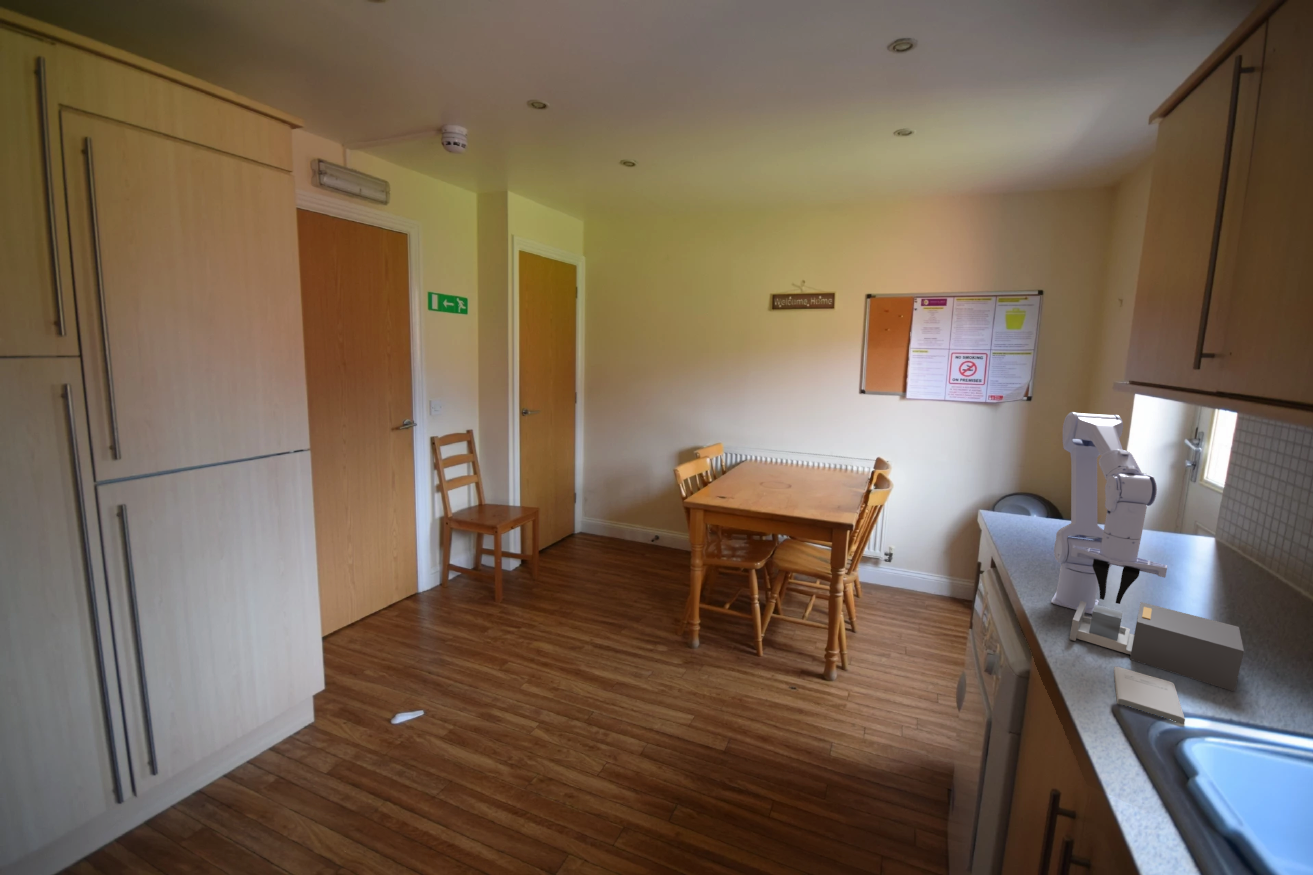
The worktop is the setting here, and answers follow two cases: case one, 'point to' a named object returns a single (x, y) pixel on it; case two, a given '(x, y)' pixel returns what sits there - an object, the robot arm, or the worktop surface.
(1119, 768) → the worktop surface
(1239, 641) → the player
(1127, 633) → the tray
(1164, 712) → the external hard drive
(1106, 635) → the block
